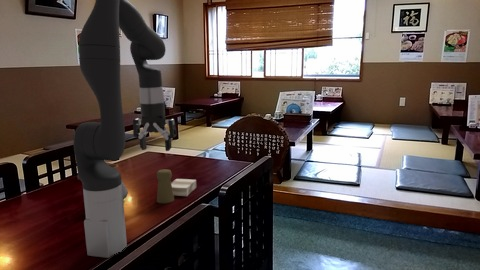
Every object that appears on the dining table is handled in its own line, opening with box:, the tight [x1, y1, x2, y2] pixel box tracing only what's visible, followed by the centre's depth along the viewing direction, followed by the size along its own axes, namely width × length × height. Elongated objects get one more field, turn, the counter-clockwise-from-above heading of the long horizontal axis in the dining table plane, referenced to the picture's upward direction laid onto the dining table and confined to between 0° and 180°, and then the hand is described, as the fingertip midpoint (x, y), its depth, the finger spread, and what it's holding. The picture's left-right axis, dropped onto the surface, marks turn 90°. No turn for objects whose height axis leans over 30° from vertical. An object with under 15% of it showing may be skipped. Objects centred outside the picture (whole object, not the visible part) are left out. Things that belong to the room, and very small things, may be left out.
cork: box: [156, 168, 175, 204], centre depth 127 cm, size 6×6×11 cm
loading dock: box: [171, 178, 197, 197], centre depth 137 cm, size 10×8×3 cm
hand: (156, 149), depth 120 cm, fingers open, 8 cm apart
